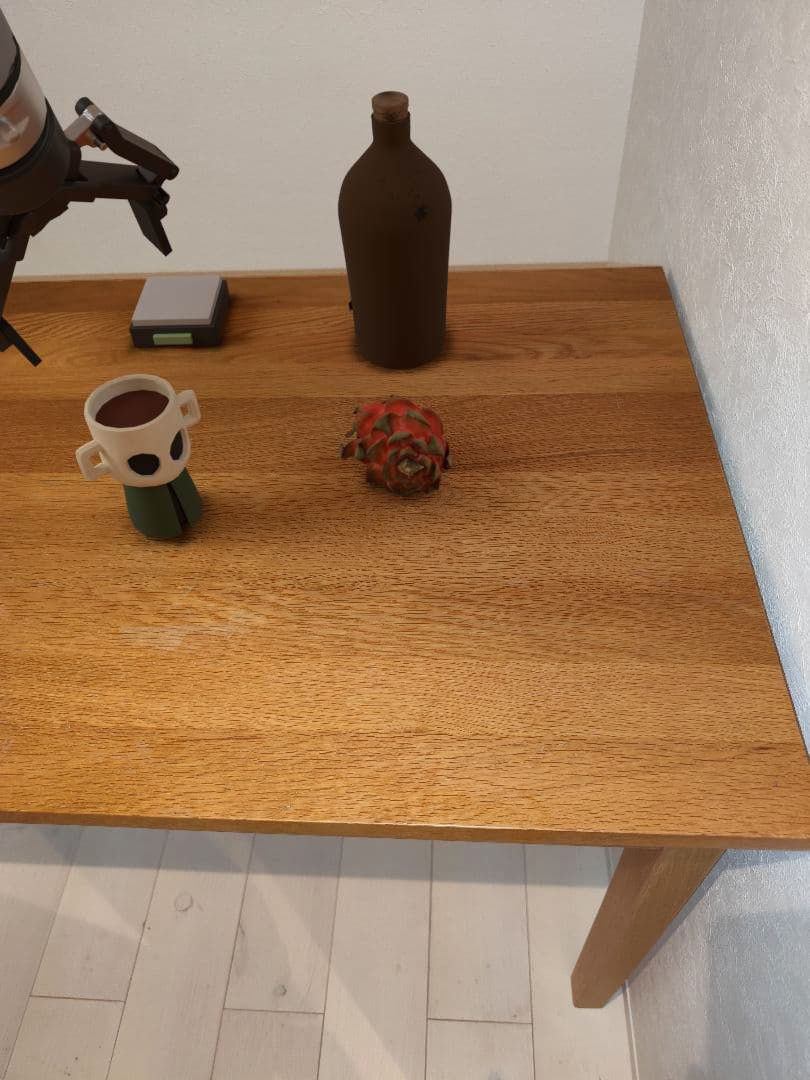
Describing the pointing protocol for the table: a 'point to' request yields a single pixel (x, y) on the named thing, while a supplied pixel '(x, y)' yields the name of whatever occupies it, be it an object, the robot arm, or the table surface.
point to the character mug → (144, 450)
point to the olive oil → (396, 242)
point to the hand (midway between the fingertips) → (93, 297)
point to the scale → (180, 311)
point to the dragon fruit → (399, 446)
